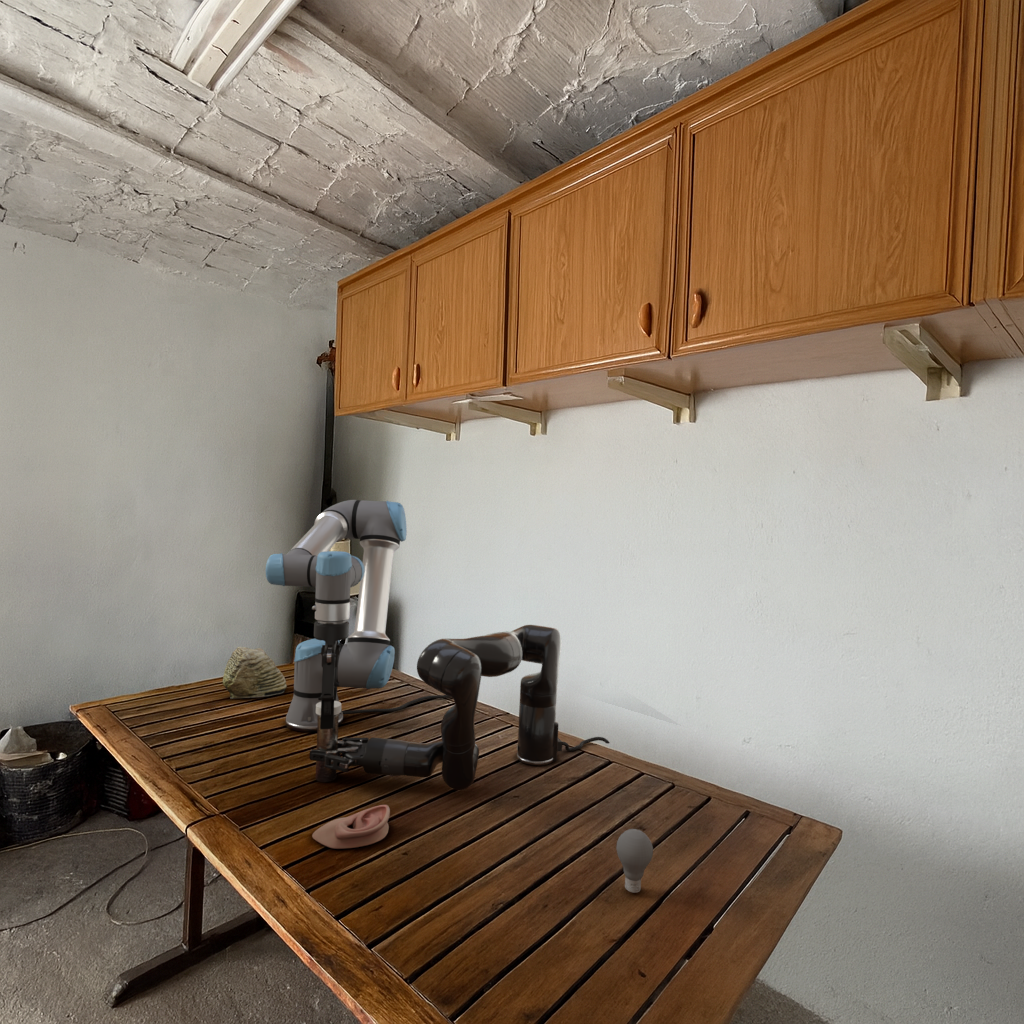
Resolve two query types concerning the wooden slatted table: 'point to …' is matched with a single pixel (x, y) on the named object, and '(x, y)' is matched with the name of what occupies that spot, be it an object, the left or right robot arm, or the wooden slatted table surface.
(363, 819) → the anatomical model
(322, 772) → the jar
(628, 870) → the light bulb
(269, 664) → the fossil
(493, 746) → the wooden slatted table surface
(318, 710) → the lid
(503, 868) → the wooden slatted table surface
